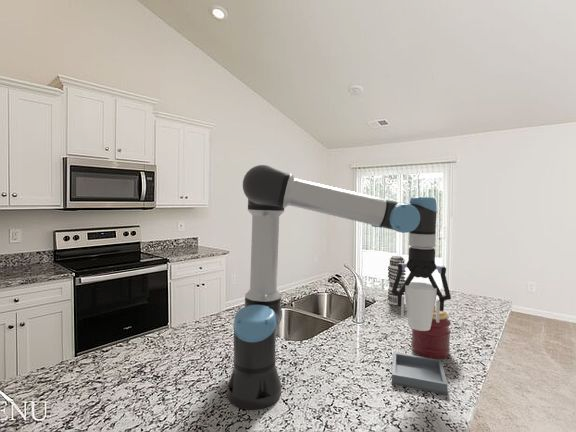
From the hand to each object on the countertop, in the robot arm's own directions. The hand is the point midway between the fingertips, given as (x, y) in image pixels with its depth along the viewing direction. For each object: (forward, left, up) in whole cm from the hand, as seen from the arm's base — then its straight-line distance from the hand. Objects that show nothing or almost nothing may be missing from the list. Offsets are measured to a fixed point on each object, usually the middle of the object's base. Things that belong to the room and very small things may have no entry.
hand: (419, 318), depth 100 cm
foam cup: (0, 0, -3) cm, 3 cm away
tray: (0, 0, -18) cm, 18 cm away
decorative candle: (+75, +8, -19) cm, 78 cm away
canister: (+20, -5, -19) cm, 28 cm away
